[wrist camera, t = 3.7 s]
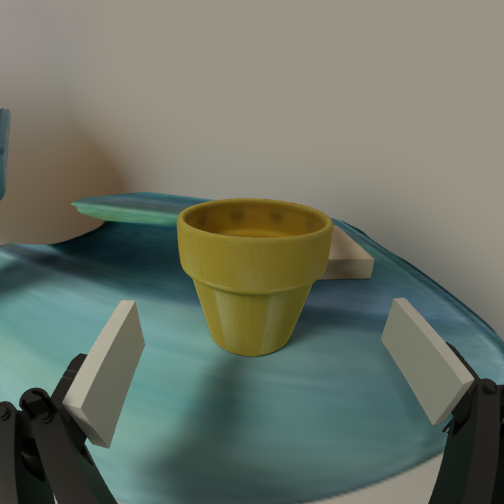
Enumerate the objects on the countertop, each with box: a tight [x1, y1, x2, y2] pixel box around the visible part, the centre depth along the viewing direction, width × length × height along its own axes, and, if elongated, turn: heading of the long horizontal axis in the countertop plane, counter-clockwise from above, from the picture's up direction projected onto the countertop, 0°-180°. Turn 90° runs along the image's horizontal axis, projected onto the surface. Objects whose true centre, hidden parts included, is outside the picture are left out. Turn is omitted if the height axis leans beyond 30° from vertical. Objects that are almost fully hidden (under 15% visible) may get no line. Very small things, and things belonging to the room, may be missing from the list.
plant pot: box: [177, 198, 333, 357], centre depth 20 cm, size 10×10×10 cm
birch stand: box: [318, 225, 375, 280], centre depth 36 cm, size 20×14×2 cm
